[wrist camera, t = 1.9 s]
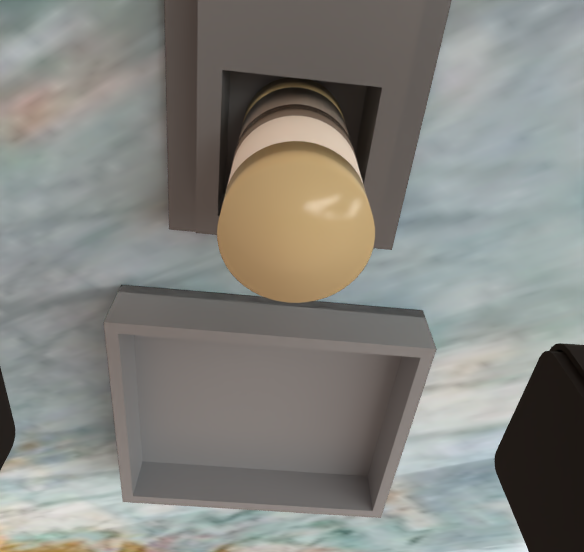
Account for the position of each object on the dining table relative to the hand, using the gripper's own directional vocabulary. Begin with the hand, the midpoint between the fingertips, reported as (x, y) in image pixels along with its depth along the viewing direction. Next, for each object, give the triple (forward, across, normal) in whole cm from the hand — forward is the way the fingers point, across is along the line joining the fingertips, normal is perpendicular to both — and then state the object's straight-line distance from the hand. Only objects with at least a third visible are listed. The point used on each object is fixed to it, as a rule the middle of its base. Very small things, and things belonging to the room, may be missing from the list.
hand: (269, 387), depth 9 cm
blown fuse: (+14, -1, 0) cm, 14 cm away
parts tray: (+15, -1, +15) cm, 21 cm away
